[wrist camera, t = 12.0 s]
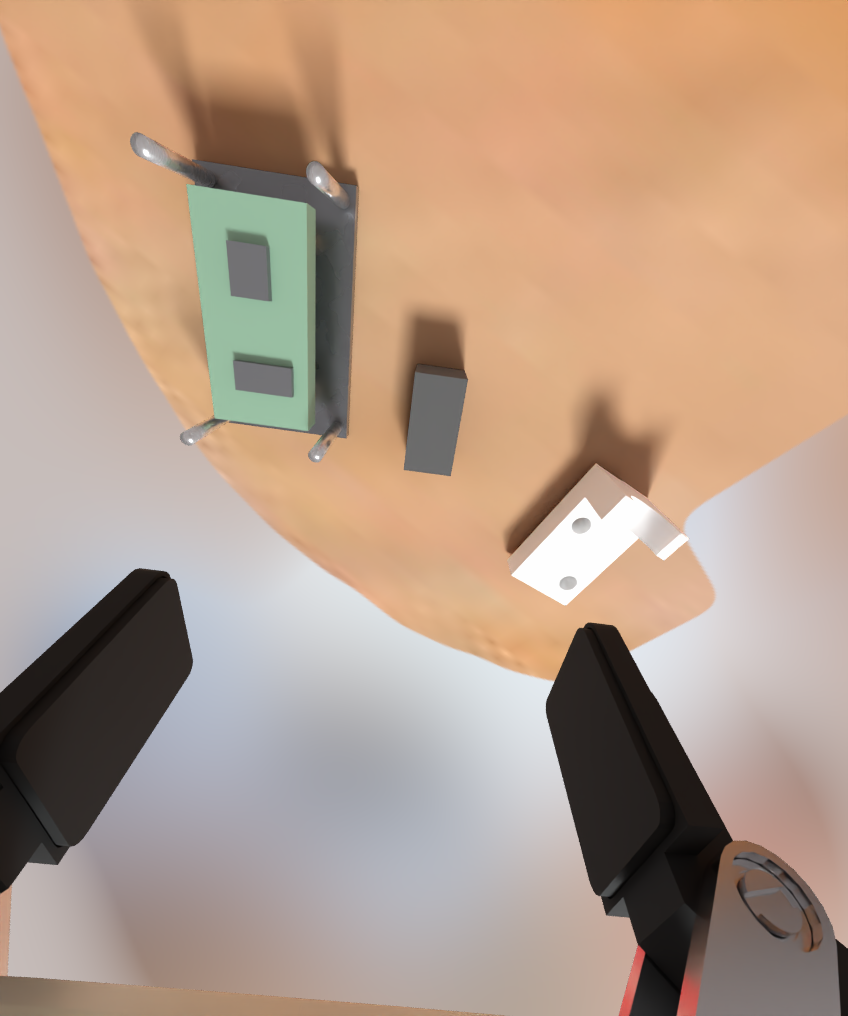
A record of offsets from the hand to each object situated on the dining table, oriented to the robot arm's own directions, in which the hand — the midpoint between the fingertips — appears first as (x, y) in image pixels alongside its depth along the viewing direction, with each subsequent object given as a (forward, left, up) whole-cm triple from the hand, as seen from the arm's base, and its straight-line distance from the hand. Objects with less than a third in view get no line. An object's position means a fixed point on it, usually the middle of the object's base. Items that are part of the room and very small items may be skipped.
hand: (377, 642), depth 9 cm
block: (+2, +2, -28) cm, 28 cm away
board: (-4, -11, -24) cm, 27 cm away
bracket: (+12, +17, -29) cm, 36 cm away
